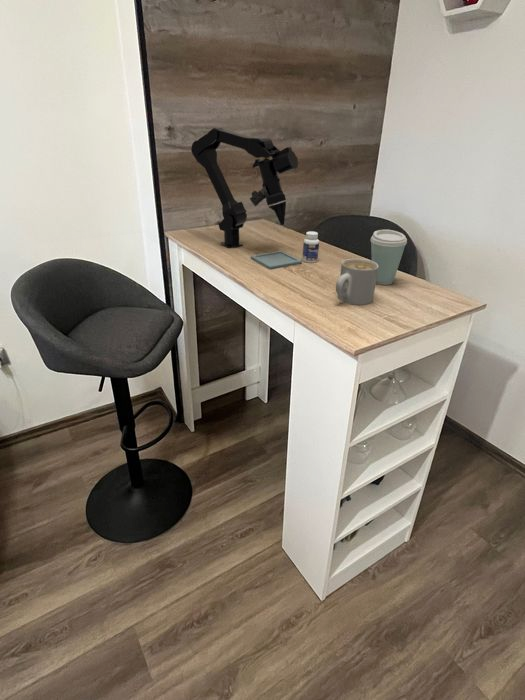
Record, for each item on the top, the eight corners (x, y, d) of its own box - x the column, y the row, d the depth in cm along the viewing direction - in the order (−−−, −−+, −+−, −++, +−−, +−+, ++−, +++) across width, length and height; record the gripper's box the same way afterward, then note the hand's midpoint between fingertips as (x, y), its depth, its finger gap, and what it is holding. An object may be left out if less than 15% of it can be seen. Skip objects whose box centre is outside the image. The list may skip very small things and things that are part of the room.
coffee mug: (357, 289, 127) (362, 256, 121) (380, 301, 119) (386, 267, 114) (320, 296, 121) (324, 263, 116) (342, 310, 113) (347, 274, 108)
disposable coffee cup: (406, 285, 130) (416, 236, 123) (377, 289, 126) (386, 239, 119) (385, 274, 139) (393, 227, 131) (357, 277, 135) (364, 230, 127)
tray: (250, 258, 149) (250, 255, 149) (281, 253, 155) (281, 250, 155) (269, 269, 140) (269, 266, 139) (301, 263, 146) (302, 260, 145)
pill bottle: (307, 263, 146) (309, 235, 141) (299, 259, 150) (301, 231, 145) (320, 261, 148) (323, 234, 143) (312, 257, 152) (314, 230, 147)
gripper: (249, 186, 152) (261, 229, 157) (245, 184, 135) (259, 232, 139) (278, 176, 151) (290, 220, 156) (279, 173, 133) (291, 222, 138)
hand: (282, 224), depth 147 cm, fingers open, 9 cm apart
